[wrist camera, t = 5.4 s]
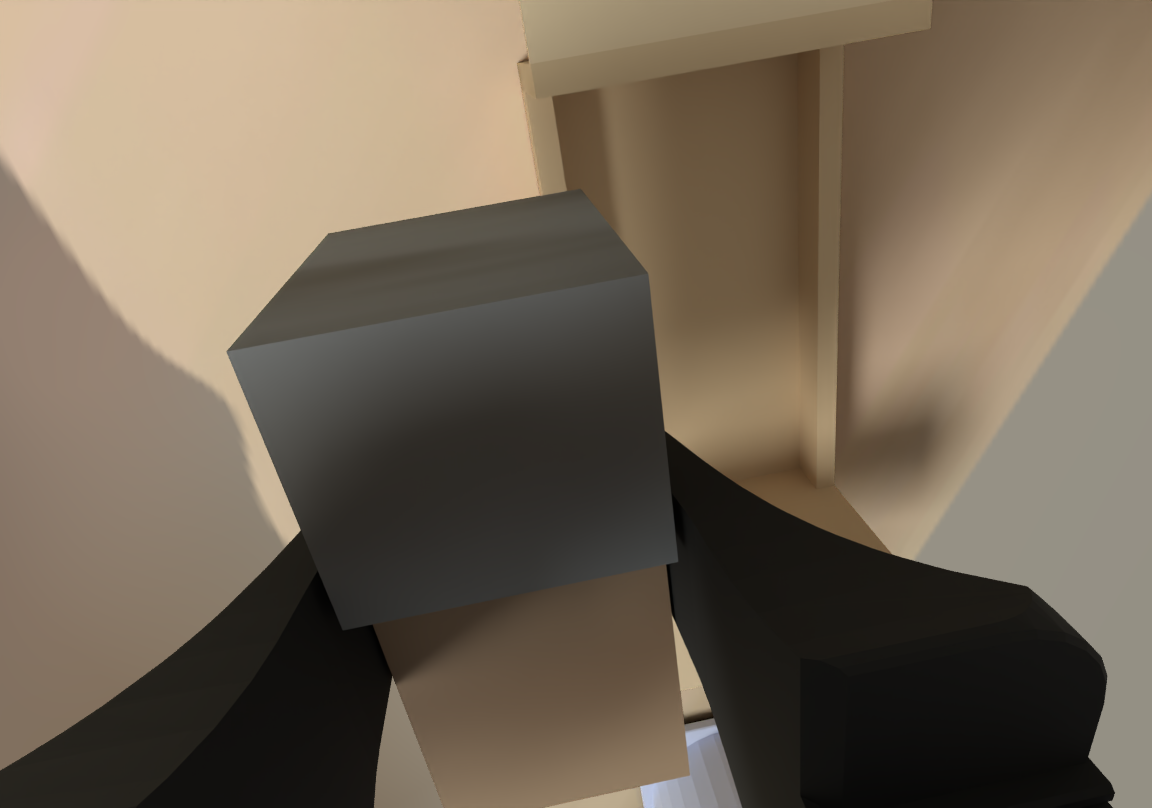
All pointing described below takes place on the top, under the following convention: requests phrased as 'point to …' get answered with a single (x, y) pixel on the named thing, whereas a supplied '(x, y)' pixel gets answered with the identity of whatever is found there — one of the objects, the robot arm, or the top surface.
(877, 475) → the top surface
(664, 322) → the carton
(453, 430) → the box
